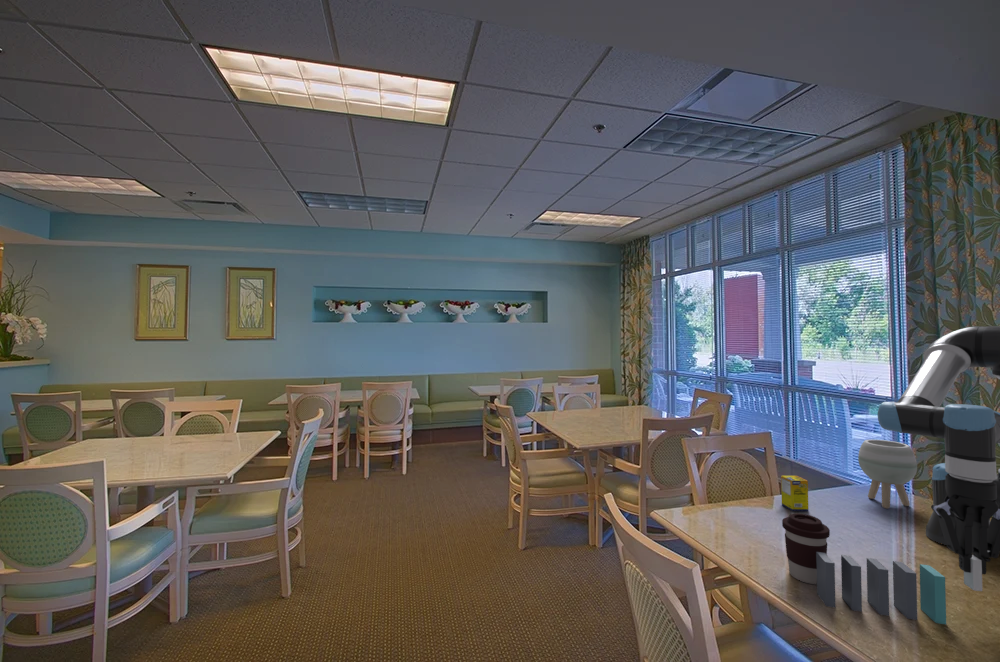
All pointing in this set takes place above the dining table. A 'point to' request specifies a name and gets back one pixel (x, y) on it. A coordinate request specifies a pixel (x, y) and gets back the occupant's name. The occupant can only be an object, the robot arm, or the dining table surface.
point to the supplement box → (794, 493)
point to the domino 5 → (933, 594)
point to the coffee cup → (804, 545)
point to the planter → (887, 468)
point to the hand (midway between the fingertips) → (973, 587)
